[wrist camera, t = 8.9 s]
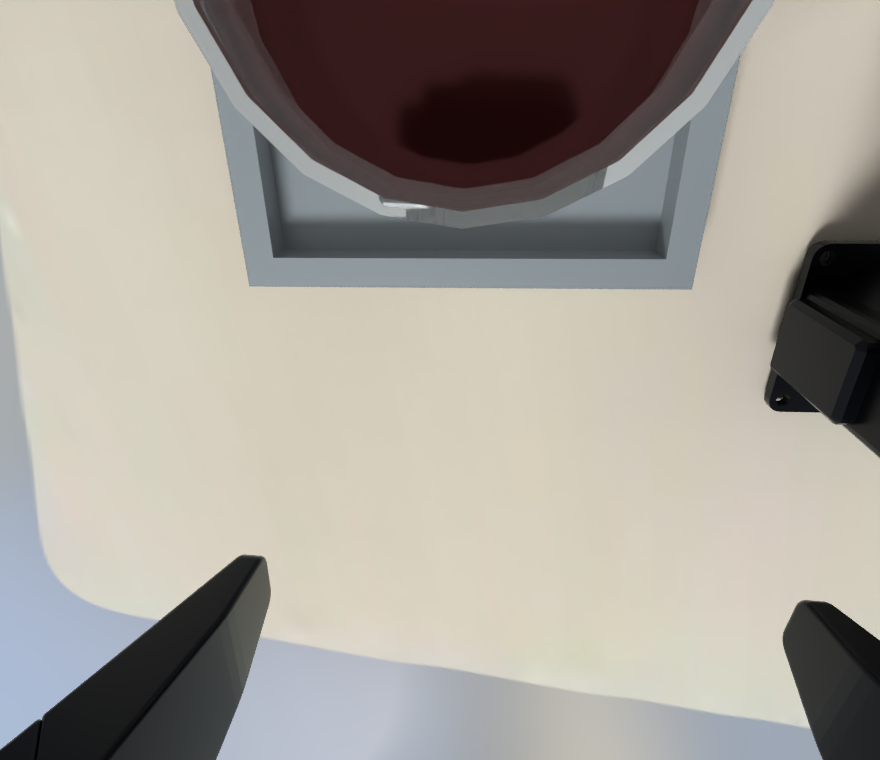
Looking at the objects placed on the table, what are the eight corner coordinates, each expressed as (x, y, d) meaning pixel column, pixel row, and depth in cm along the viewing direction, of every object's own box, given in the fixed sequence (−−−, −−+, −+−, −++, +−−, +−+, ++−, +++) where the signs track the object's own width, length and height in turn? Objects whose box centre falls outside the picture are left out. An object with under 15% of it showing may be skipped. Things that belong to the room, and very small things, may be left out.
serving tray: (792, -353, 13) (838, -420, 11) (674, 274, 19) (691, 289, 18) (173, -313, 14) (133, -369, 12) (267, 272, 20) (249, 286, 19)
